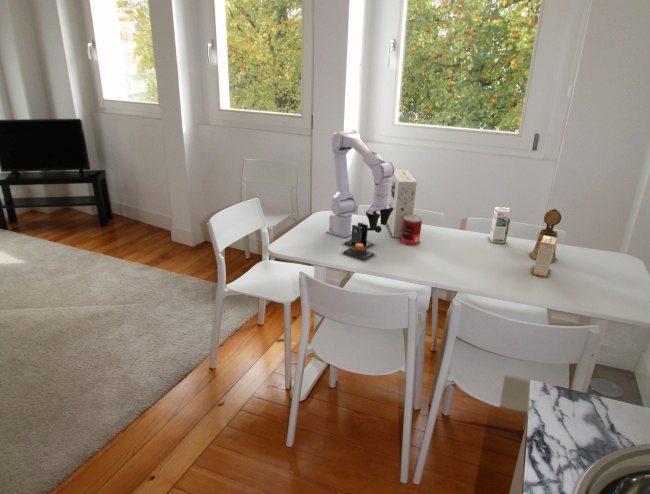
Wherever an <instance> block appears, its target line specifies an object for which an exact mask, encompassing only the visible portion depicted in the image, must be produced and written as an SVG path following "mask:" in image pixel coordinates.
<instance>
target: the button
mask: <svg viewBox="0 0 650 494" xmlns="http://www.w3.org/2000/svg"><path fill="white" fill-rule="evenodd" d="M355 249H357V250H363V244H361V243H357V244H355Z"/></svg>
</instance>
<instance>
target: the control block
mask: <svg viewBox="0 0 650 494" xmlns="http://www.w3.org/2000/svg"><path fill="white" fill-rule="evenodd" d="M343 255H347V256H349V257H353V258H355V259H358V260H361V261H367V260H368V259H370V258H372V257H373V256H375V252H372V251H370V250H368V248H367V247H365V246H363V250H357V249H355V245H354V246H352V247H351V246H350V247H349V248H347V249H345V250H343Z"/></svg>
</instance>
